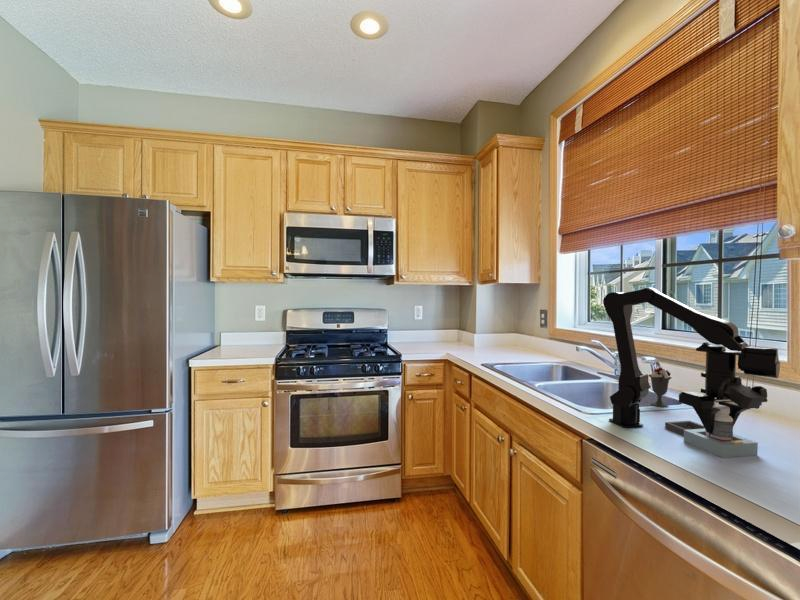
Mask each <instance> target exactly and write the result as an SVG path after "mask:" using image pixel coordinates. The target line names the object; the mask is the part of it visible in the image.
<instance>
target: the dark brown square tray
mask: <svg viewBox="0 0 800 600" xmlns="http://www.w3.org/2000/svg"><path fill="white" fill-rule="evenodd" d="M664 425H665V426H664V429H666V430H670V431H672V432H675V433H677V434H679V435H682V436H684V430H688V428H691V429H704V428H705V427H704V426H703V424H699V423H698V422H695V421H691V420H681V421H665V422H664Z"/></svg>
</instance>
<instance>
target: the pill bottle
mask: <svg viewBox="0 0 800 600" xmlns="http://www.w3.org/2000/svg"><path fill="white" fill-rule="evenodd" d="M715 408H718V409H721V410H720V411H718V412H717V413H716V414H715V418H714V428H713V432H712V433H708V432H707V431H706V429H705V436H708V437H710V438H713V439H715V440H718V441H721V442H727V441H733V434H734V426H733V418H732V417H731V416H729V415H728V414H730V408H729V407H727V406H724V405H719V403H718V404H717V403H715Z"/></svg>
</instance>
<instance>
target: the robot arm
mask: <svg viewBox="0 0 800 600" xmlns="http://www.w3.org/2000/svg"><path fill="white" fill-rule="evenodd" d="M602 303H603V307H604V311H605V313H606V314H607V316H608V318H609V320H610V321H611V322H612V327H613V332H614V338H615V339H614V340H615V342H616V347H617V348H616V349H617V355H618V360H619V366H620V373H619V377H618V390H617V391H616V392H614V393H613V394H611V395H610V396H609V399H610V402H611V404H612V418H608V421H610V422H611V423H614V424H616V425H618V426H620V427H623V428H624V429H626V428H638V427H641V428H642V427H644V424H643V423H641V418H640V417H641V408H640V404H639V403H641V401H642V399H643V398H646V396H648V394H649V392H650V391H649V390H650V389H651V388H652V385H650V383H649V374H647V373H645V374H643V372H642V371H641V369H640V367H639V362H638V357H637V351H636V347H635V341H634V335H633V330H632V324H631V318H632V313H633V306H637V305H640V304H645V303H648V304H649V305H652V306H653V307H655V308H657V309H659V310H661V311H663V312H664V313H666V314H668V315H670V316H672V317H674V318H675V319H678V320H679V321H680V322H683V323H685V324H686V325H688V326H689V327H691V328H692V329H693V330H694V331H695V332H696V333H697V334H698V335H700V337H702V338H703V339H705V340H706V341H704V342H703V343H702V344H701V345H700V346H698V347H696V348H695V351H696V352H703V353H705V372H701V373H700V377H702V378H705V379H704V381H705V382H704V385H705V386H704V388H703V387H702V388H700V392H697V391H693V390H691V391H681V392H680V393H679V394H678V403H681V404H683V405H686V406H690V407H692V409H693V410H694V412H695V413H696V414H697V416H698V418H699V420H700V422H701V425H703V426H704V427H705V429H706V431H707V432H708V433H712V432H713V428H714V418H715V414H716V413H717V412H718V411H720V410H721V409H718V408H715V404H717V403H718V404H719V405H724V406H727V407H729V408H730V414H728V415H729V416H731V417H732V418H733V427H734V426H735V424H736V422H737V420H738V418H739V416H740V415H741V413H742V412H745V411H747V410H751V409H756V410H757V409H759V408H760V407H761V406H763V405H762V404H763V403H767V402H768V390H767V388H765V387H763V386H761V385H754V386H753V387H751V386H745V385H744V384H742V378H741V377H740V376H737V373H736V371H737V368H738V370H740V371H741V372H743V373H744V375H750V376H756V377H757V376H758V377H763V378H771V379H778V378H779V375H780V371H781V370H780V368H781V361H779V359H780V358H779V349H778V348H775V347H774V348H773V347H768V348H767V347H765V348H763V347H753V346H749V345H748V343H747V342H746V341H745V340H744V339H743V338H742V337H741V335H739V328H738V326H736V324H734V323H733V322H731V321H728V320H725V319H722V318H720V317H717V316H712V315H710V314H706V313H702V312H701V311H697V310H696V309H694V308H692V307H689V306H688V305H687V304H684V303H682V302H680V301H678V300H677V299H674V298H672V297H670V296H669V295H666V294H664V293H662V292H660V291H659V290H658V289H657V288H654V287H643V288H642V289H638V290H632V291H628V292H627V291H626V292H623V291H621V292H620V291H619V292H618V291H617V292H616V291H615V292H614V291H613V292H608V293H607V294H606V295H605V296H604V297H603V299H602ZM710 343H711V344H713V345H711V344H710ZM726 348H727V349H728V350H727V349H726ZM737 356H738V357H737ZM736 365H737V367H736Z"/></svg>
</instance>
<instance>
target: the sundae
mask: <svg viewBox="0 0 800 600" xmlns="http://www.w3.org/2000/svg"><path fill="white" fill-rule="evenodd" d="M654 364H655V368H654V370H653V371H652V372H651V374H648V378H650V382H651V388H652V391H653V393H654V394H655V395H656V396H657V400H656V401H654V402H651V403H650V404H651V406H654V407H658V408H668V407H669V405H668V404H666V403H664V402H663V399H662V396H664V395H665V394H667V392H668V387H669V382H670V380H672V378H673V377H672V376H671V372H670V371H669V370H668V369H666V370H665V369H663V367H661V366H659V364H658V362H655V363H654ZM657 366H658V368H657Z"/></svg>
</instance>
